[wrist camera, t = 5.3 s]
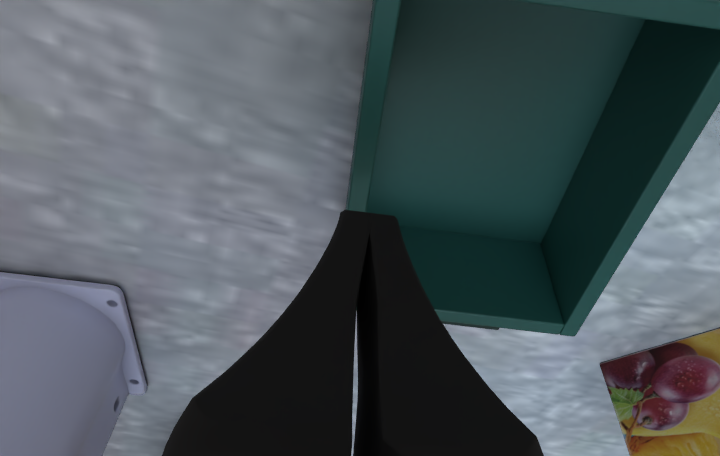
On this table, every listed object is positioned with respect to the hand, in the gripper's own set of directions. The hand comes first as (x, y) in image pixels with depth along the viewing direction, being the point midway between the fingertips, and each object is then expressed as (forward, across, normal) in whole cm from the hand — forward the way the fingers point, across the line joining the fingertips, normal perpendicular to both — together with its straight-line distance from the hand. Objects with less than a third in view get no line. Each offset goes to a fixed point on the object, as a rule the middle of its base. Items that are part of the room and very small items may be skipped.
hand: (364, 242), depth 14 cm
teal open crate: (+5, 0, 0) cm, 5 cm away
